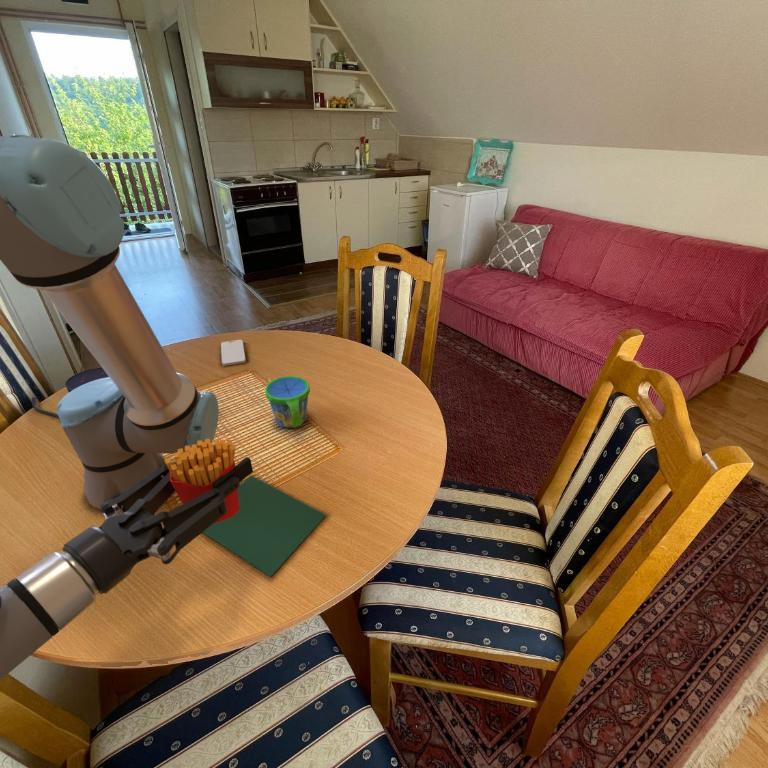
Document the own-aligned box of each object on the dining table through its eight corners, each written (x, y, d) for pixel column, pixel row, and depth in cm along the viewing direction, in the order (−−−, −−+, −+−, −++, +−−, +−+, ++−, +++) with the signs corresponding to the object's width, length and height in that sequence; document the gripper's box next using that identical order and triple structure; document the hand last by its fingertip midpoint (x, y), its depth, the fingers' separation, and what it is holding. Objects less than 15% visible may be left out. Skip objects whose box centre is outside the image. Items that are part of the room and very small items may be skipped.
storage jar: (81, 433, 99) (56, 381, 91) (122, 413, 106) (101, 363, 98) (103, 449, 95) (78, 395, 87) (144, 427, 102) (124, 375, 94)
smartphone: (221, 364, 127) (220, 342, 139) (222, 367, 128) (220, 345, 139) (246, 360, 129) (242, 339, 141) (246, 363, 130) (243, 342, 142)
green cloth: (191, 525, 77) (191, 524, 77) (251, 476, 88) (251, 475, 88) (270, 577, 69) (270, 576, 69) (326, 515, 80) (325, 514, 80)
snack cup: (317, 435, 100) (314, 401, 95) (272, 443, 98) (267, 408, 92) (307, 400, 113) (304, 368, 107) (268, 406, 110) (262, 373, 105)
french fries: (187, 532, 62) (163, 468, 55) (185, 511, 65) (163, 448, 58) (250, 511, 65) (235, 448, 58) (245, 493, 68) (231, 431, 61)
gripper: (52, 555, 54) (201, 453, 71) (138, 634, 46) (283, 497, 63) (26, 517, 50) (190, 418, 67) (115, 595, 42) (276, 460, 59)
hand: (235, 457), depth 65 cm, fingers closed on french fries, 6 cm apart
